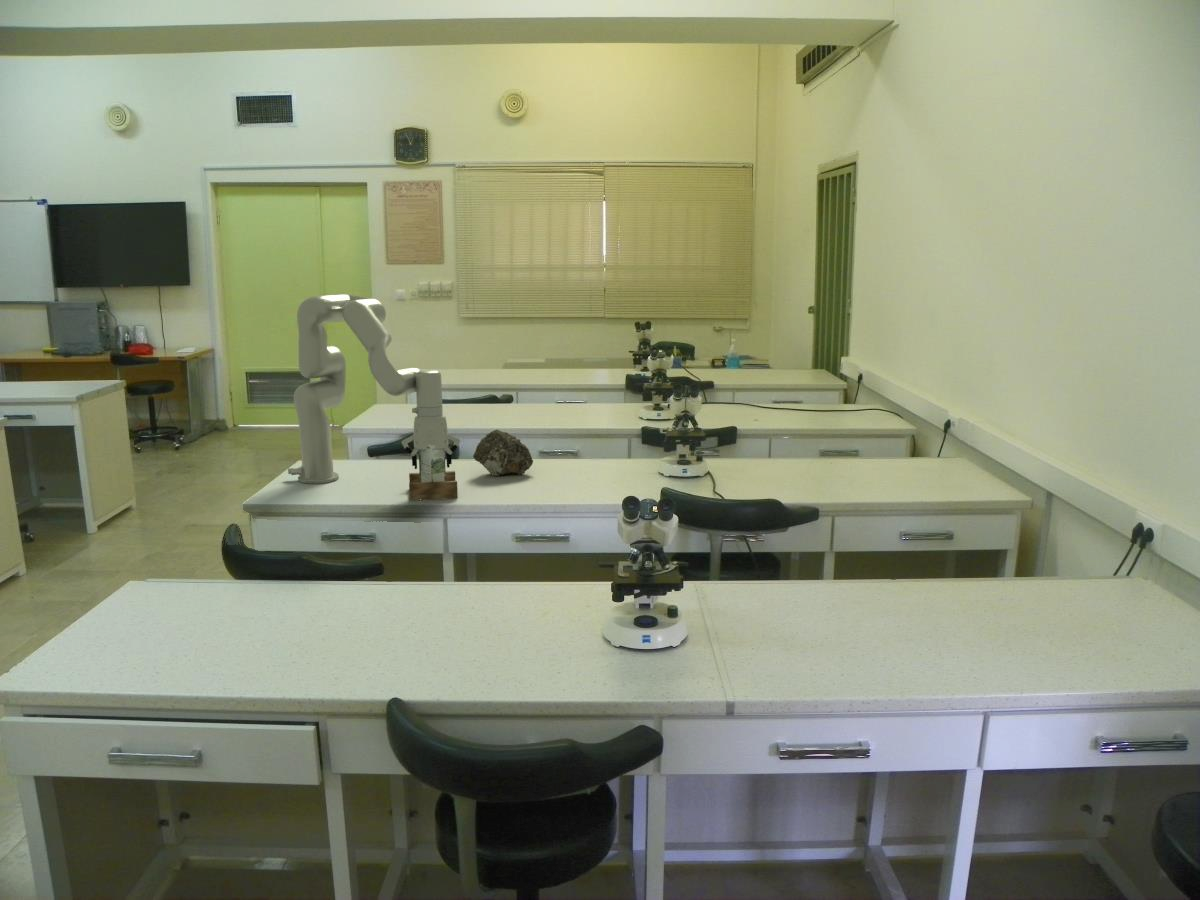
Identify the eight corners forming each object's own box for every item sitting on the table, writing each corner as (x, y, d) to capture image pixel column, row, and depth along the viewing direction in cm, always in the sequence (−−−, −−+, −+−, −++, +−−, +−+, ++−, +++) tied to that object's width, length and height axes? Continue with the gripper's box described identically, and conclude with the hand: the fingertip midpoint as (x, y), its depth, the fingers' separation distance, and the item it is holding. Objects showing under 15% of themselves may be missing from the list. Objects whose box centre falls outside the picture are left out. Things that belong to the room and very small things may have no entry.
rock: (494, 427, 290) (499, 411, 304) (465, 458, 294) (471, 441, 308) (538, 463, 295) (540, 445, 309) (509, 493, 299) (513, 474, 313)
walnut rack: (409, 500, 269) (409, 484, 268) (409, 488, 282) (409, 473, 281) (457, 498, 272) (457, 481, 271) (455, 486, 285) (454, 470, 284)
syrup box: (434, 485, 281) (432, 439, 278) (446, 488, 277) (445, 441, 274) (419, 488, 276) (417, 442, 273) (432, 492, 273) (430, 444, 270)
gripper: (400, 414, 266) (402, 471, 270) (459, 412, 270) (461, 468, 273) (400, 410, 273) (403, 465, 277) (458, 408, 277) (460, 463, 280)
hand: (432, 467), depth 275 cm, fingers open, 9 cm apart
